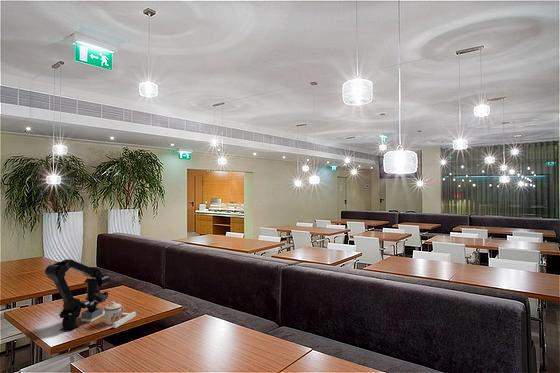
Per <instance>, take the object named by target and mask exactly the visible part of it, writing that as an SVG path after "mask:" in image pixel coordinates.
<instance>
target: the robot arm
mask: <svg viewBox="0 0 560 373" xmlns="http://www.w3.org/2000/svg"><path fill="white" fill-rule="evenodd" d="M70 269H73V270H75V271H77V272H80V273H82V275H84V276H85V277H86V279H85V280H84V281H83V283H84V284H86V287H87V288H86V290H85V292H84V294H85V293H86V297H85V298H84V300H80V298H77V297H74V296H73V295H74V294H73V293H72V291H71V289H70V286H69V284H68V283H67V281H66V279H65V276H66V272H69V270H70ZM44 274H45V275H46V277H48V279H50V280H51V281H53V283H54V285H55V288H56V289H57V291H58V293H59V295H60V297H61V299H62V301H63V305H62V310H61V311H60V313H59V314H58V317H59V318H60V319H62V327H61V328H60V329H59V331H65V332H71V331H73V330H75V329H77V328H79V327H80V326H79V325H78V323H77V322H78V320H77V319H78V318H79V317H80V314H81V311H82V309H86V308H87V309H86V310H89V312H90V313H92V312H94V311H95V309H96V307H98V305H99V304H100V303H101V304H103V303H104V302H106V300H107V299H108V298H109V292H108V291H107V290H106V291H104V292H101V290H100V289H99V287H102V286H105V285H108V284H109V283H110V282H111V278H110V277H109V275H108V273H104V272H103V273H102V272H101V269H100V268H99V267H93V266H88V265H86V264H82V263H80V262H79V261H76V260H74V259H71V258H66V259H63V260H61V261H58V262H55V263H53V264H49V265H48V266H47V267H46V268H45V270H44Z"/></svg>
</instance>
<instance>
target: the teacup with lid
mask: <svg viewBox="0 0 560 373" xmlns="http://www.w3.org/2000/svg"><path fill="white" fill-rule="evenodd" d="M124 307H125V306H122V304H121V303H116V302H115V301H111V302H110V303H109V304H107V305H105V306H104V307H103V310H104V311H105V315H104V324H105V325H109V326H111V325H113V323H115V322H117V321H118V320H120V319H122V316H121V314H122V313H124V311H125V308H124Z"/></svg>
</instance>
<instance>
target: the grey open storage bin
mask: <svg viewBox="0 0 560 373" xmlns="http://www.w3.org/2000/svg"><path fill="white" fill-rule="evenodd" d="M80 314H81V316H80V322H86V323H87V322H89V323H91V322H93V321H96V320H98V319H100V318H102V317H104V316H105V310H104V307H98V306H96V309H95V311H94V312H92V313H90V312H89V310H88V309H86V310H84V311H82V312H80ZM135 317H137V311H132V312H130V313H129V312H123V313H122V314H121V319H120V320H118V321H117V322H115V323H113V324H112V325H113V326H112V328H114V329H116V328H118V327H120V326H121V325H123V324H125V323H126V322H128V321H130V320H132V319H133V318H135Z"/></svg>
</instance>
